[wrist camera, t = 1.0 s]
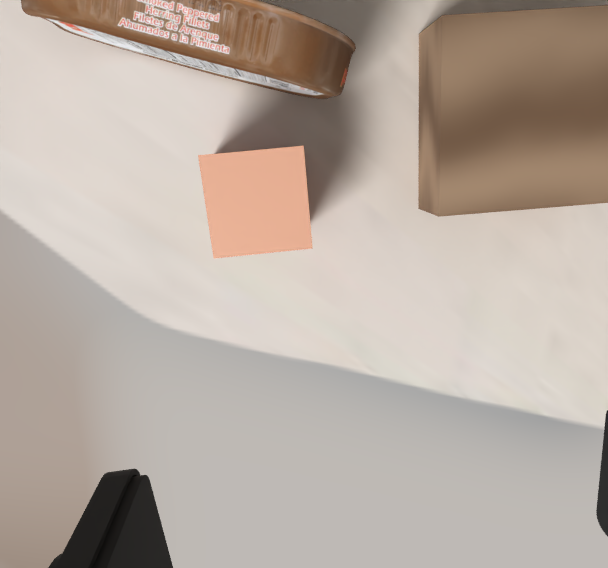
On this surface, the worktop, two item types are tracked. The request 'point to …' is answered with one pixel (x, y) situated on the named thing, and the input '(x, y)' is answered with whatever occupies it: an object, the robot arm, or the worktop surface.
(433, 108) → the walnut base
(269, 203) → the salmon pink block
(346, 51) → the tin
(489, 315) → the worktop surface
